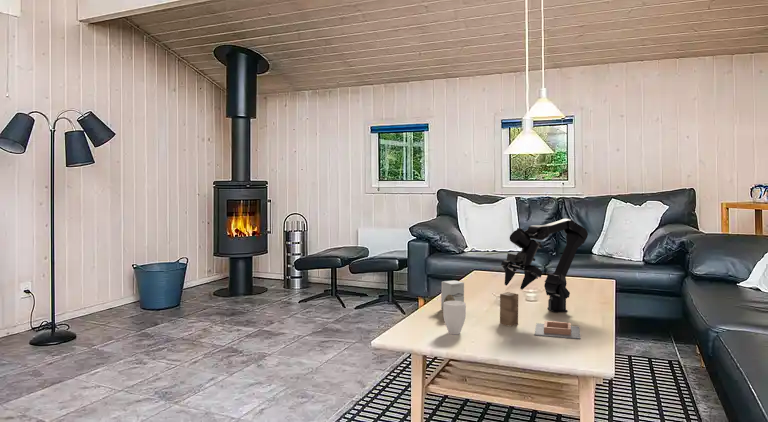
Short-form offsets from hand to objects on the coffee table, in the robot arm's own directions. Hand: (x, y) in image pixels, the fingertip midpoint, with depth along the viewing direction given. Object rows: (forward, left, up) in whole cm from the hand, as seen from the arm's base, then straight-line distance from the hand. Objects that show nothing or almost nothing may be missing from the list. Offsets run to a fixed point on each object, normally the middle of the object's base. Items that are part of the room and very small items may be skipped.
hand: (513, 287), depth 222 cm
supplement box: (+21, -17, -13) cm, 30 cm away
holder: (-9, +21, -13) cm, 26 cm away
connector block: (+5, +8, -13) cm, 16 cm away
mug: (+29, +15, -13) cm, 35 cm away
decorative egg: (+26, -4, -13) cm, 29 cm away
